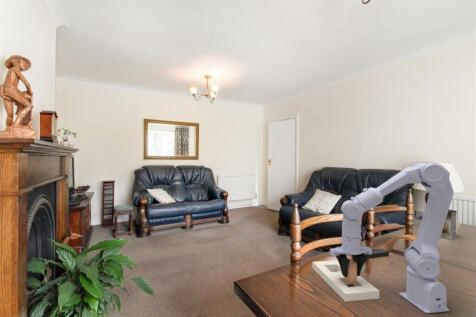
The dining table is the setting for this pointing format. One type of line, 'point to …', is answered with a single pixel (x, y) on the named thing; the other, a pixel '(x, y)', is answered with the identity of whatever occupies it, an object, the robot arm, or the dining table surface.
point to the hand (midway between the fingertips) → (350, 275)
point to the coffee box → (449, 226)
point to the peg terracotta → (352, 272)
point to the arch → (392, 241)
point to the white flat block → (338, 284)
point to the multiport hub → (377, 253)
